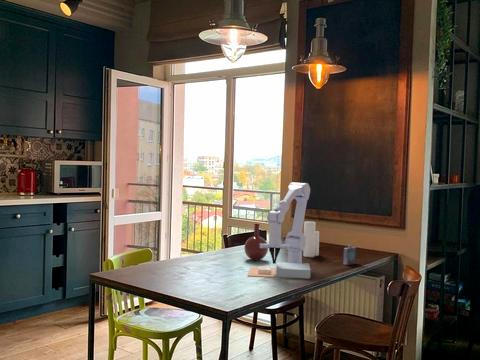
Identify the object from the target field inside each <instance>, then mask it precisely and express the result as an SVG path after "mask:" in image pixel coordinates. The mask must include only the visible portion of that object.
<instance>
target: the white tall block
mask: <svg viewBox="0 0 480 360" xmlns="http://www.w3.org/2000/svg"><path fill="white" fill-rule="evenodd" d="M316 227H317V226H316V221H304V222H303V234H304V235H305V237H306V246H305V248H304V250H303V251H302V256H303V257H305V258H306V257H307V258H315V257H318V256H319V255H320V254H319V253H320V251H319V250H320V249H319V248H320V231H318V230H317V231H316Z"/></svg>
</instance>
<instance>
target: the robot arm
mask: <svg viewBox="0 0 480 360" xmlns="http://www.w3.org/2000/svg"><path fill="white" fill-rule="evenodd" d="M287 188H288V189H287V193H286V195H285V196H284V198H283V200H279V202H278V203H277V204H276V206H275V208H274V209H273V210H271V211H269V212H268V213H267V217H266V220H267V222H268V226H269V230H268V231H269V233H268V243H267V244H260V248H268V251H269V253H270V256H271V260H272V264H273V265H274V264H276V265H277V259H278V256H279V253H280V251H281V250H286V251H287V263H303V261H302V258H303V257H302V256H303V250H304V248H305V246H306V237H305V235H304V232H303V229H304V222H305V216H306V208H307V205H308V204H307V203H308V200H309V198H310V194H311V187H310V184H309V183H308V182H290V183H289V185H288V187H287ZM293 200H295V201H296V204H295V210H294V217H293V221H292V222H293V223H292V227H291V231H289V232H287V234H286V238H284V239H285V240H284V243H282V242H281V239H282V223H283V222H284V220H285V216H286V213H287V211H288V210H289V209H290V204H291V202H292V201H293Z"/></svg>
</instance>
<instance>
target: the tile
mask: <svg viewBox="0 0 480 360" xmlns="http://www.w3.org/2000/svg"><path fill="white" fill-rule="evenodd" d="M257 268H258V274H271V268H272V266H268V265H263V266H262V265H259V266H258V267H257Z"/></svg>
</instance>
